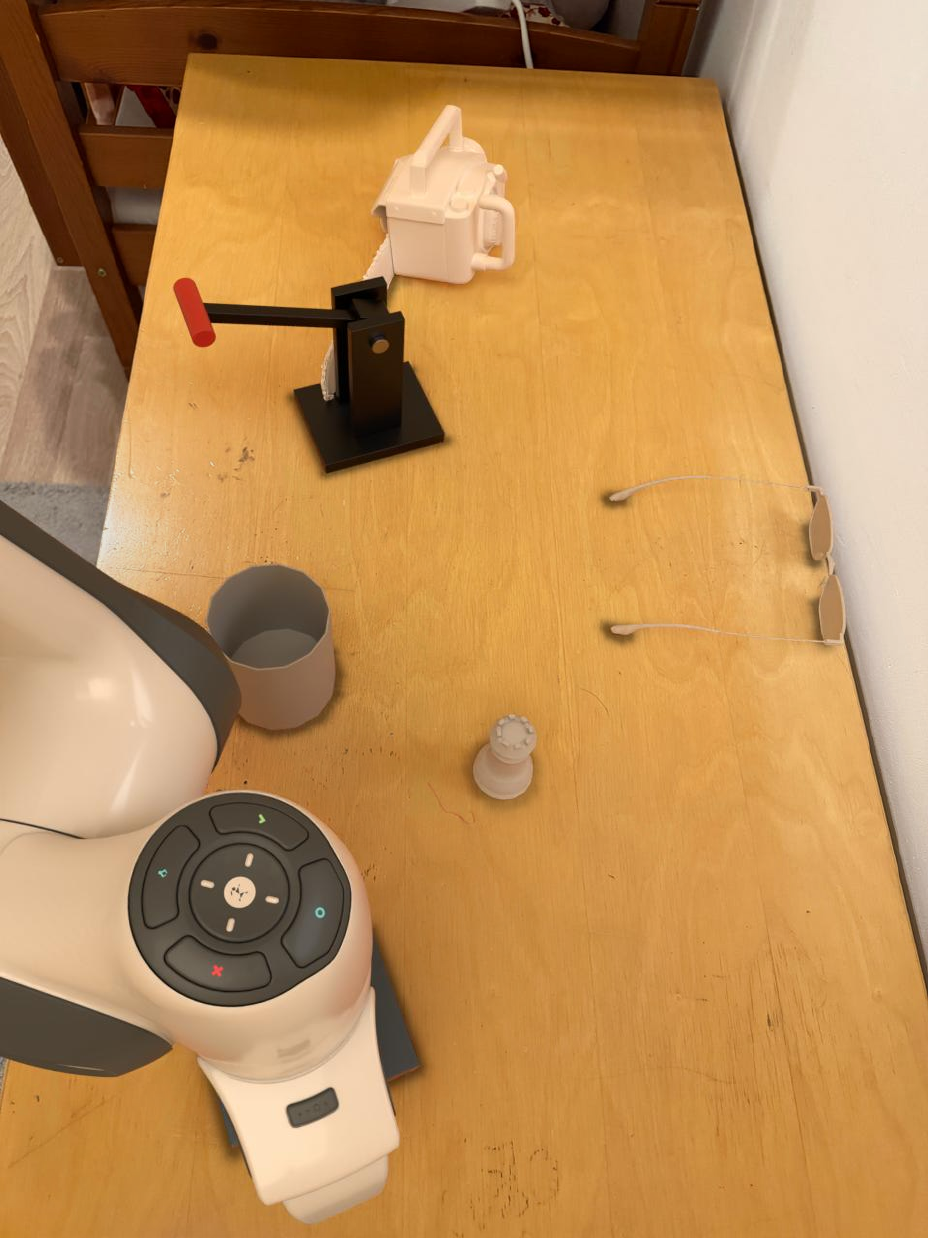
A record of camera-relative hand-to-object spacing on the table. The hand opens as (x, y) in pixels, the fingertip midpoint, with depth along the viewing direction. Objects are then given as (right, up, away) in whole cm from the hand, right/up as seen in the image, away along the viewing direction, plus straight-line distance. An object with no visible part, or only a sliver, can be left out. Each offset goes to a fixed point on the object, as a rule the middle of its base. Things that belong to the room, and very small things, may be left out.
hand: (291, 1022), depth 58 cm
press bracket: (+1, +41, +32) cm, 52 cm away
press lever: (-4, +46, +19) cm, 50 cm away
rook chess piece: (+13, +12, +17) cm, 24 cm away
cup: (-4, +19, +19) cm, 27 cm away
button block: (0, -4, +7) cm, 8 cm away
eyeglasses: (+31, +27, +27) cm, 49 cm away
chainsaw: (+7, +55, +40) cm, 68 cm away
